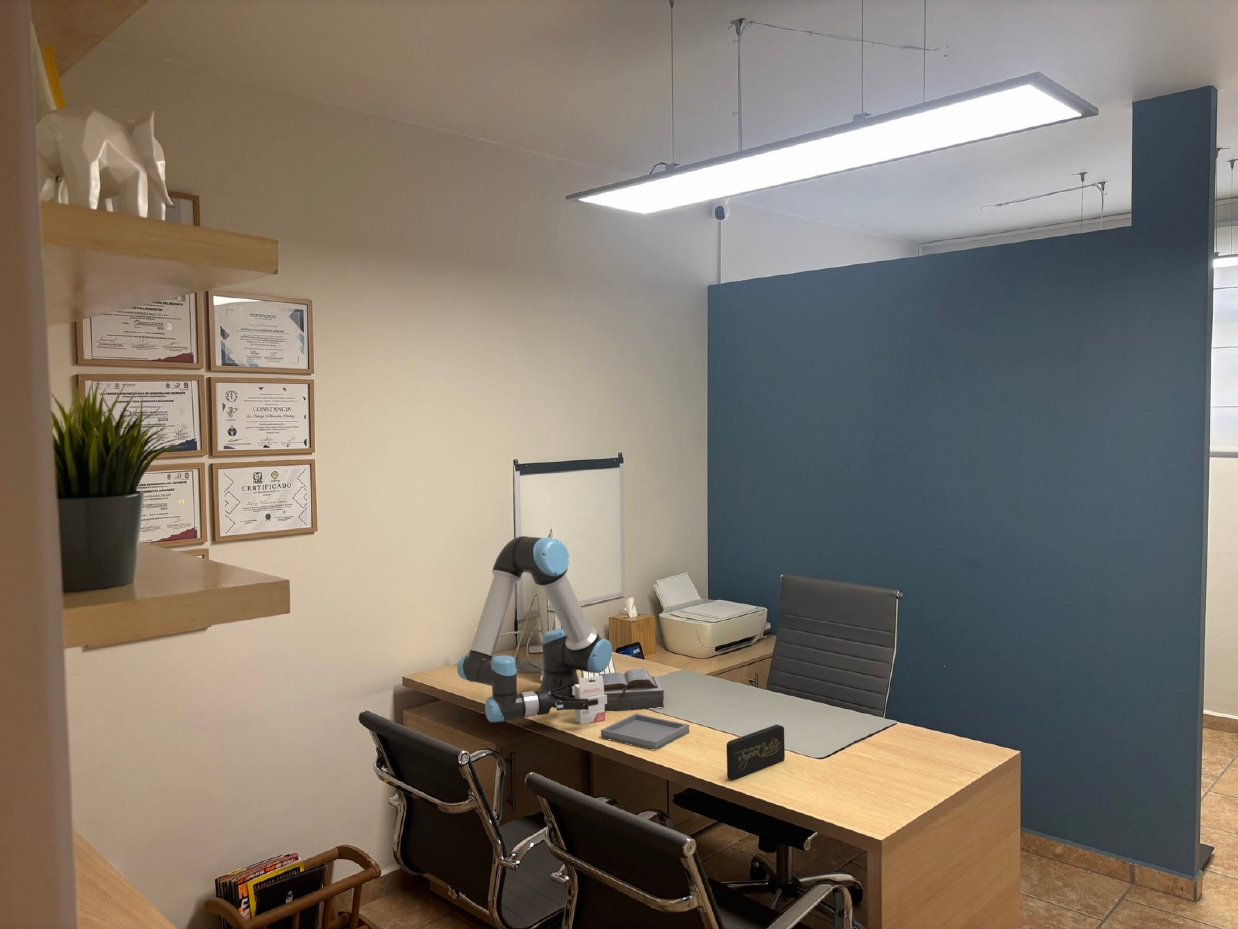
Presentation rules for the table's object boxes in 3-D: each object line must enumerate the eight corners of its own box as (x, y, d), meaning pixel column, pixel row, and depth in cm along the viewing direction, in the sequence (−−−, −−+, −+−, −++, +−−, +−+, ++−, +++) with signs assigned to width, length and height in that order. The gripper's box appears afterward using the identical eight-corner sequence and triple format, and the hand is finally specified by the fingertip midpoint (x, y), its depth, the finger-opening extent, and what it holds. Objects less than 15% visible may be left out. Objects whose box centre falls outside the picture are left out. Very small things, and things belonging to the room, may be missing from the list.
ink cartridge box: (599, 716, 289) (598, 671, 288) (605, 721, 284) (604, 675, 284) (575, 720, 286) (573, 675, 285) (580, 725, 281) (578, 678, 280)
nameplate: (732, 781, 233) (731, 744, 232) (727, 779, 234) (726, 742, 234) (784, 761, 246) (784, 725, 246) (779, 759, 247) (778, 723, 247)
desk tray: (635, 721, 283) (635, 713, 283) (689, 732, 271) (688, 724, 271) (601, 738, 268) (600, 729, 268) (655, 750, 256) (655, 742, 256)
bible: (663, 714, 290) (662, 684, 290) (581, 714, 293) (580, 684, 293) (667, 693, 313) (666, 665, 313) (591, 692, 316) (590, 665, 316)
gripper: (524, 704, 289) (585, 695, 297) (548, 727, 266) (613, 716, 274) (523, 681, 289) (584, 672, 297) (547, 702, 266) (613, 692, 274)
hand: (598, 693), depth 286 cm, fingers open, 13 cm apart
